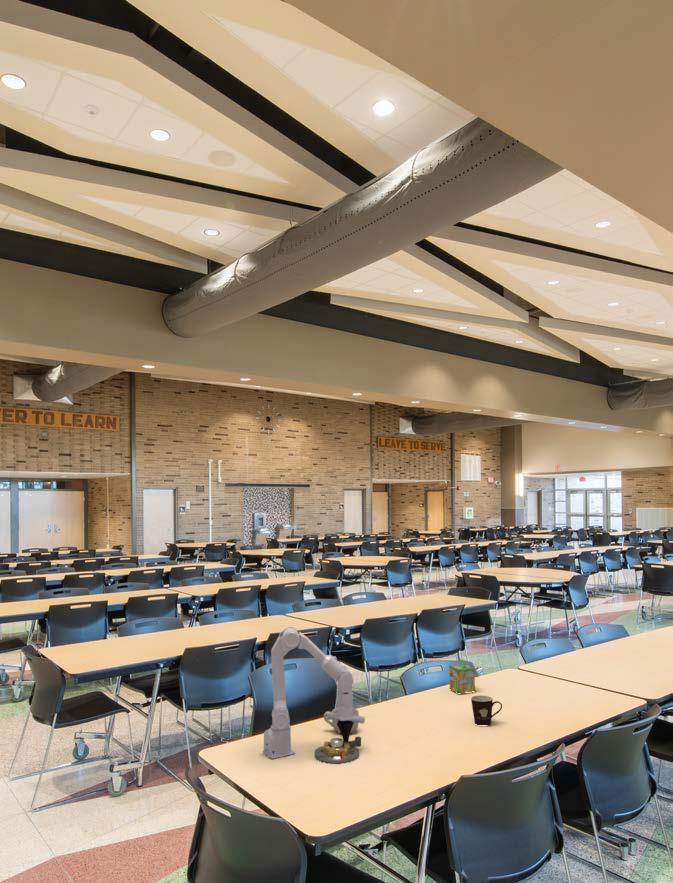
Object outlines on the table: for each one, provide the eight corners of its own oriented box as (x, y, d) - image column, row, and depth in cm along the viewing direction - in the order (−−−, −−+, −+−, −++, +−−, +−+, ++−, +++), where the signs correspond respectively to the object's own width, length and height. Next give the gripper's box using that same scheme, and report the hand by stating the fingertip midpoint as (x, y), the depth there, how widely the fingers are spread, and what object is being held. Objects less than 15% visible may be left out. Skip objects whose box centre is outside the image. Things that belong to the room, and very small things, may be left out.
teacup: (362, 728, 260) (361, 707, 261) (355, 737, 250) (355, 715, 251) (328, 725, 264) (328, 705, 265) (321, 734, 253) (320, 713, 254)
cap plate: (327, 767, 221) (327, 751, 222) (306, 752, 235) (306, 737, 235) (367, 757, 229) (367, 742, 229) (345, 744, 243) (344, 729, 243)
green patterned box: (449, 690, 312) (448, 658, 313) (466, 688, 314) (465, 656, 316) (458, 695, 303) (457, 662, 304) (476, 693, 306) (474, 660, 307)
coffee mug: (469, 725, 260) (468, 700, 261) (475, 719, 267) (474, 694, 269) (498, 729, 255) (497, 703, 256) (503, 723, 262) (502, 697, 263)
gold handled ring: (331, 758, 226) (331, 748, 226) (319, 750, 234) (319, 741, 234) (367, 749, 233) (367, 740, 233) (354, 742, 241) (354, 733, 241)
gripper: (322, 704, 239) (323, 742, 238) (359, 708, 234) (360, 747, 232) (330, 699, 246) (331, 736, 244) (366, 702, 240) (367, 740, 239)
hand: (346, 741), depth 239 cm, fingers closed
